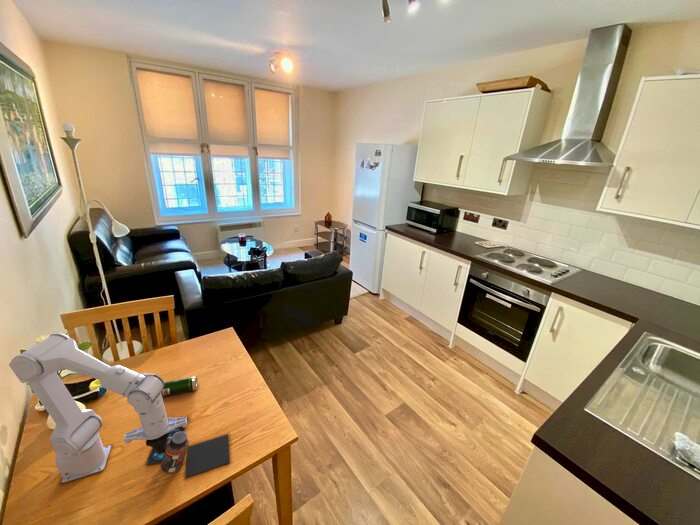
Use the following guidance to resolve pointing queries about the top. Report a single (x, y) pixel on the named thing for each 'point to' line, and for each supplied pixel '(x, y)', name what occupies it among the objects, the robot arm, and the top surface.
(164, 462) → the supplement bottle
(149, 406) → the robot arm
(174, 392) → the beer can
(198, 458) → the mat
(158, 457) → the smartphone
